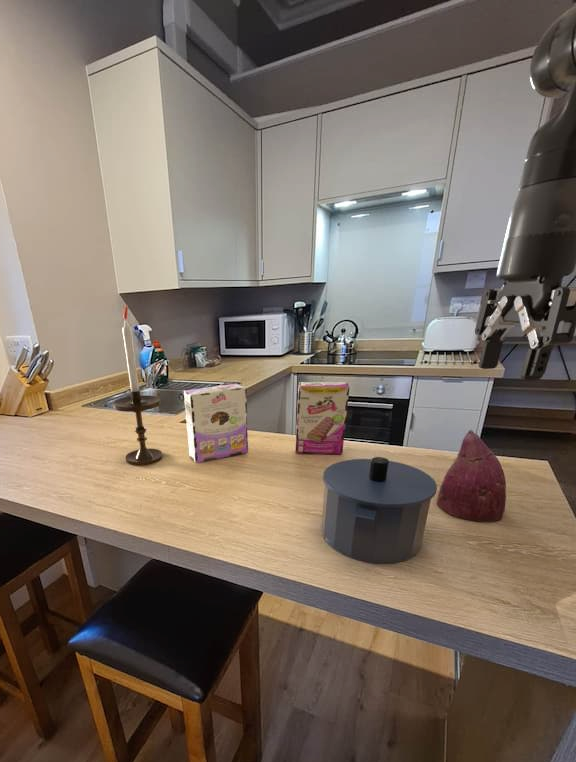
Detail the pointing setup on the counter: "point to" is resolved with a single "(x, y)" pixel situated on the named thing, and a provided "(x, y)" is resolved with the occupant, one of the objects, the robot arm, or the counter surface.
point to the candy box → (216, 422)
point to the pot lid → (379, 482)
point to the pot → (373, 529)
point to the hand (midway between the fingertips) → (507, 373)
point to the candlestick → (137, 404)
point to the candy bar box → (321, 417)
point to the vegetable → (474, 483)
